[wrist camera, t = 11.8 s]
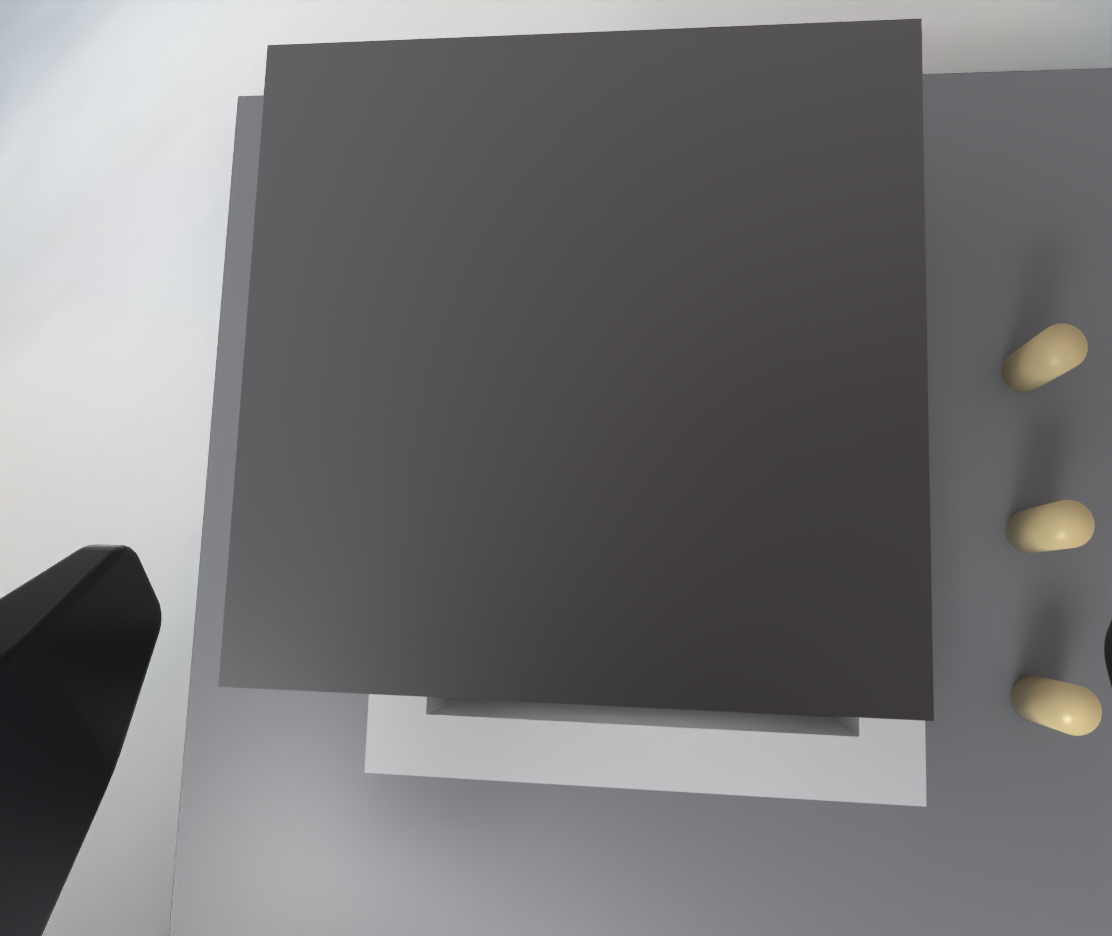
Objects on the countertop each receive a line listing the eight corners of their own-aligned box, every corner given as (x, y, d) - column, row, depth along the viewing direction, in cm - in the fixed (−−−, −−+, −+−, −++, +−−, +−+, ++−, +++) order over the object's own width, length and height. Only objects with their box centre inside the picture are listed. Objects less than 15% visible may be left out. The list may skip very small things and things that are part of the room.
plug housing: (536, 623, 18) (217, 686, 6) (543, 419, 19) (268, 45, 6) (747, 631, 18) (933, 720, 5) (748, 421, 18) (920, 19, 6)
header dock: (191, 957, 19) (85, 1036, 16) (258, 119, 22) (179, 29, 18) (1141, 1040, 17) (1259, 1153, 14) (1101, 94, 19) (1194, -14, 16)
